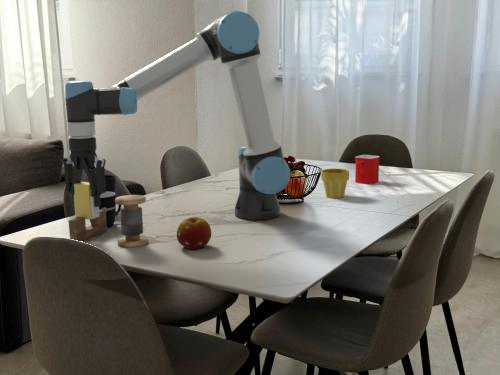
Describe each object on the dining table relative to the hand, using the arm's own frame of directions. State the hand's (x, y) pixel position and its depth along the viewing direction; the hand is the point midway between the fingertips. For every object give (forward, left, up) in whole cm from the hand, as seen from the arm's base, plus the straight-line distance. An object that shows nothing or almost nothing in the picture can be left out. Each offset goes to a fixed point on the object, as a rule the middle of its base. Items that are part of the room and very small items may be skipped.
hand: (87, 216), depth 175 cm
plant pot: (-53, -77, -7) cm, 94 cm away
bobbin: (-15, 0, -6) cm, 16 cm away
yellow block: (0, 0, 0) cm, 0 cm away
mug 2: (-58, -106, -7) cm, 121 cm away
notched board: (0, 0, -6) cm, 6 cm away
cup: (+15, -29, -7) cm, 33 cm away
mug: (+4, -14, -7) cm, 16 cm away
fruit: (-33, -3, -7) cm, 34 cm away
